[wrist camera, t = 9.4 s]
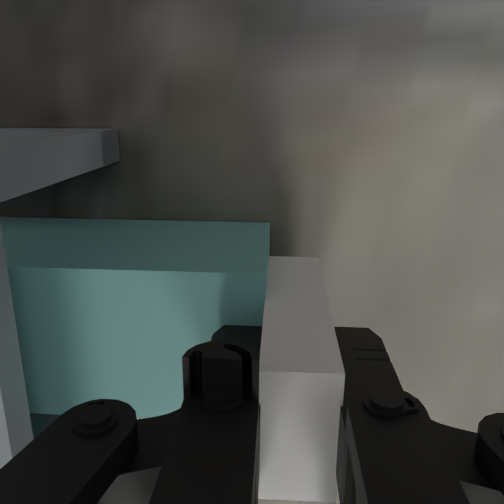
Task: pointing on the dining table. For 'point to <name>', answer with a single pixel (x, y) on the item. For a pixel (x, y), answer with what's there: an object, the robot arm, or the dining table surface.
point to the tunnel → (3, 319)
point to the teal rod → (126, 303)
